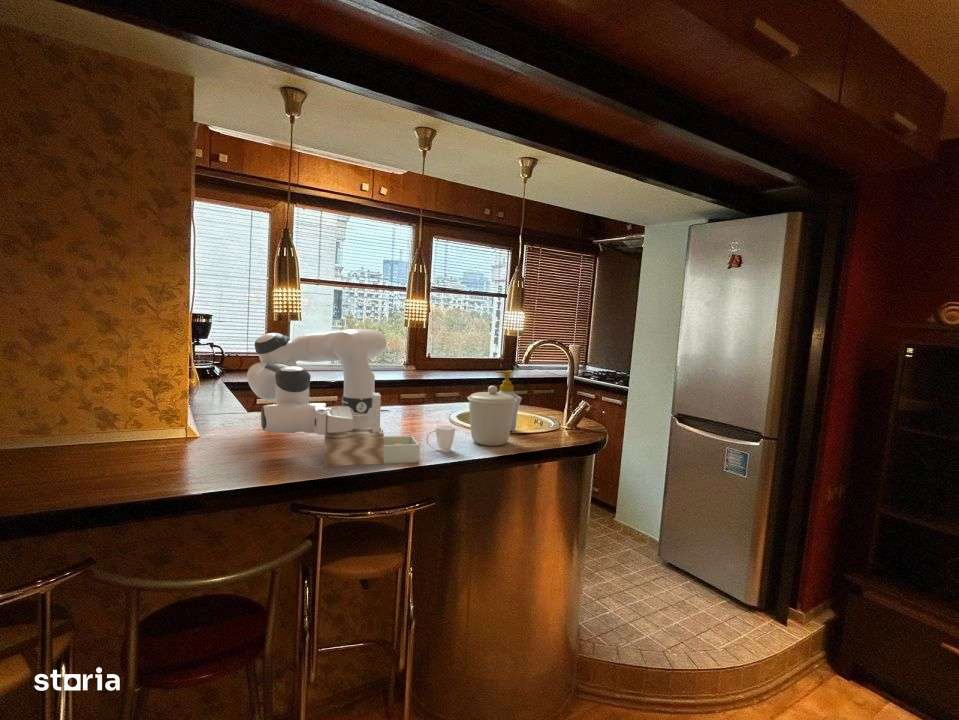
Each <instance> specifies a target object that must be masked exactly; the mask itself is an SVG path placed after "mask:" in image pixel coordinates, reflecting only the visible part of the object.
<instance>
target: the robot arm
mask: <svg viewBox="0 0 959 720" xmlns="http://www.w3.org/2000/svg"><path fill="white" fill-rule="evenodd" d="M387 346H388V345H387V338H386V336H385V335H384V334H383V333H382V332H380V331H378V330H375V329H371V328H350V329H349V328H347V329H344V330H337V331H336V330H334V331H323V332H314V333H307V334H302V335H299V336H297V337H294V338H292V339H291V338H290V337H289V336H288V335H284V334H282V333H278V332H270V333H269V332H267V333H265V334H263V335H261V336H259V337H258V338H257V339H256V340H255V342H254V350H255V353H256V354H258V355H257V356H258V358H259V361H260V362H258V363H257V362H256V363H254V364H252V365H251V366H250V367H249V369H248V370H247V373H246V380H247V382H248V385H249V387H250V389H251V390H252V392H253V394H255V395H256V396H257V397H258V398H260V399H262V400H264V401H265V400H266V401H274V400H275V403H271V404H265V405H263V406H262V408H261V411H260V422H261V423H260V424H261V428H262V430H263V431H264V432H267V433H275V434H296V433H306V434H317V435H318V436H319V435H320V436H325V434H326V432H328V433H336V432H347V431H351V430H353V428H371V419H372V393H375V381H376V378H375V374H374V373H373V372H372V370H371V368H370V364H369V359H373V358H376V357H378V356H380V355H381V354H383V353H384V352H385V351H386V349H387ZM336 361H337V362H340V365H341V369H342V373H343V395H342V397H341V398H342V399H341V405H334V406H327V403H326V402H310V385H311V379H312V378H311V374H310V373H309V372H308V370H307V369H305V368H303V367H301V366H298V364H297V362H306V363H320V362H336ZM381 432H382V433H384V429H382V428H381Z"/></svg>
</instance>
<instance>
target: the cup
mask: <svg viewBox="0 0 959 720" xmlns="http://www.w3.org/2000/svg"><path fill="white" fill-rule="evenodd" d="M456 428H457V427H456V426H454V425H451V424H439V425H436V427H435V429H432V430H430V431H428V432H427V435H426V444H427V445H428V446H429V447H430V448H431V449H433V450H434V451H437V452H441V453H448V452H449V453H450V452H452V445H453V442H454V438H455V432H456ZM433 432H434V433H436V442H437V443H436V444H437V445H438V449H437V448H434V447H433V446H431V445H430V444H429V441H428V440H429V435H430V434H431V433H433Z"/></svg>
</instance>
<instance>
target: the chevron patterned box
mask: <svg viewBox="0 0 959 720" xmlns="http://www.w3.org/2000/svg"><path fill="white" fill-rule="evenodd" d="M381 429H382V427H380V433H372V431H371V428H353V430H351V431H347V432H336V433H328V432H326V434H325V435H324V440H323V441H324V442H323V443H324V444H323V445H324V446H323V447H324V448H323V449H324V450H323V458H324V459H323V462H324V467H338V466H339V467H340V466H341V467H342V466H360V465H384V464H383V463H384V435H385V433H384V432H383V433H382V432H381Z"/></svg>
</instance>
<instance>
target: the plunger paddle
mask: <svg viewBox="0 0 959 720" xmlns="http://www.w3.org/2000/svg"><path fill="white" fill-rule="evenodd" d="M381 398H382V395H381V394H380V392H374V393H372V419H371V431H372V433H380V428H381V403H382V399H381Z"/></svg>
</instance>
